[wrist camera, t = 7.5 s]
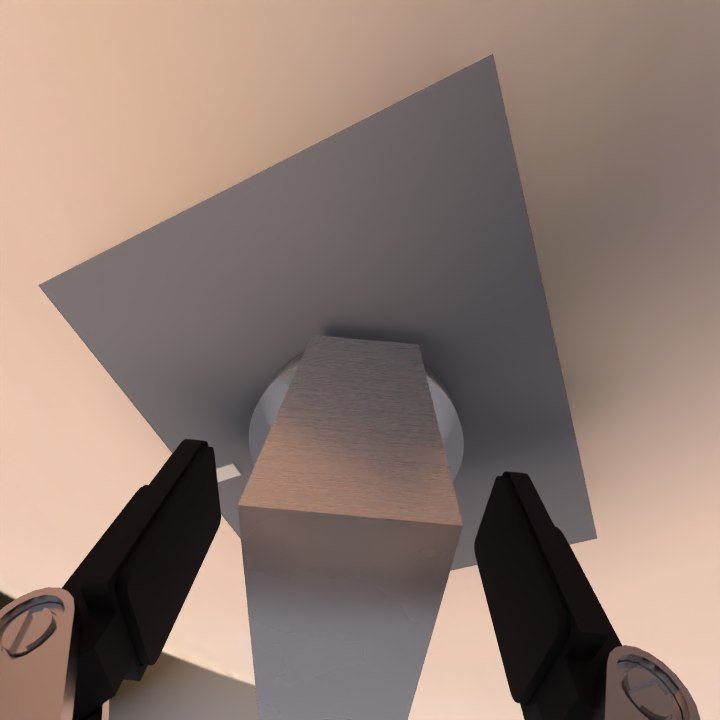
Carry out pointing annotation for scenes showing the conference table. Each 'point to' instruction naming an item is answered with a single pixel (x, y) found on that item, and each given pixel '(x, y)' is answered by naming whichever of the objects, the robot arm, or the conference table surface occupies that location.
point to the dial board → (351, 295)
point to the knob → (348, 529)
